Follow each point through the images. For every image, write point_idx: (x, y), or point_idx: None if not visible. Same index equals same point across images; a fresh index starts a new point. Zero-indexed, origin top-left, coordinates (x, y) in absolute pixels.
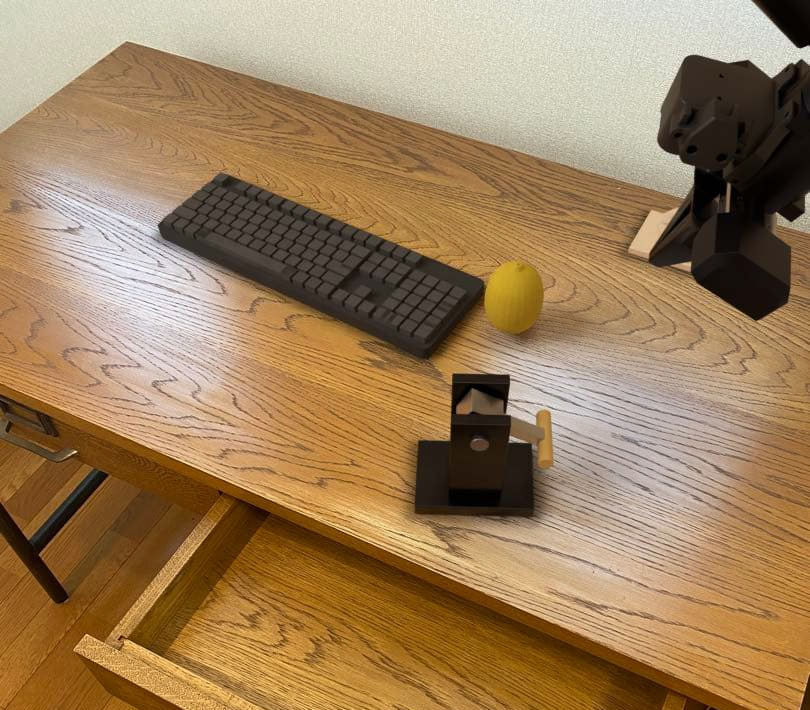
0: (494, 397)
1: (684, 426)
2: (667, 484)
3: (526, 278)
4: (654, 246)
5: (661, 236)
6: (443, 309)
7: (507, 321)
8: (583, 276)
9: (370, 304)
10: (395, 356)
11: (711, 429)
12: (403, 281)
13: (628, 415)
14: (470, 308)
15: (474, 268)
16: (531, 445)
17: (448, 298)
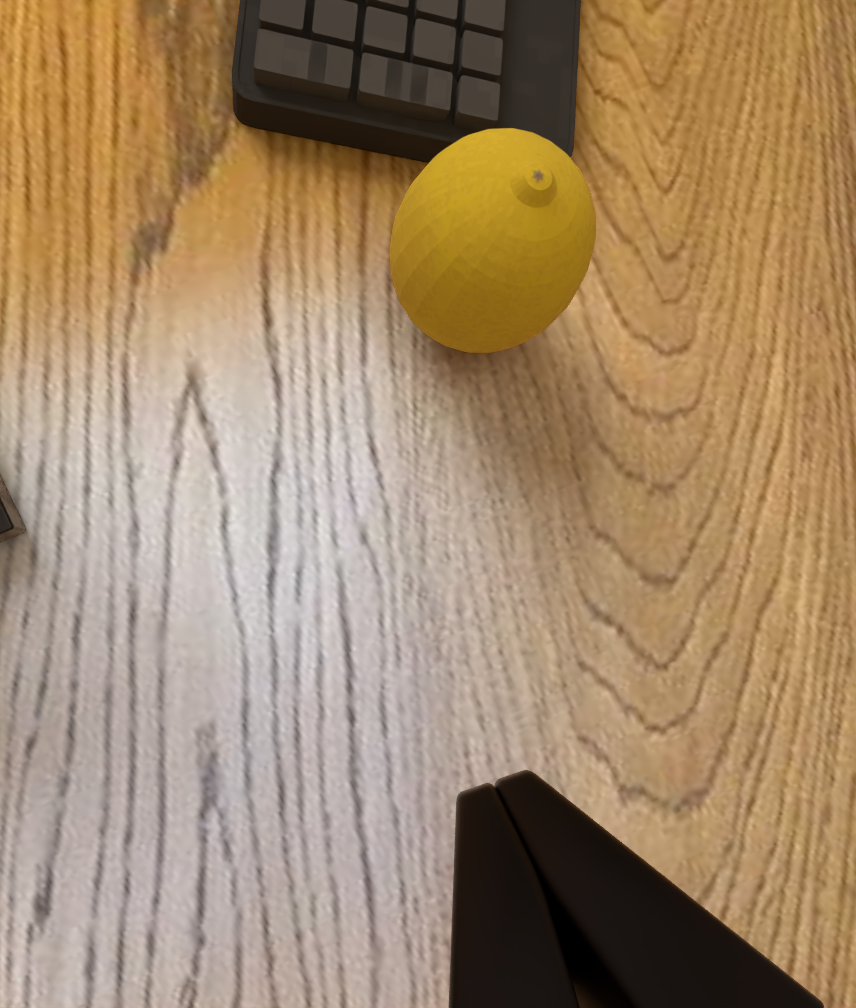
0: None
1: (337, 905)
2: (91, 959)
3: (507, 234)
4: (551, 811)
5: (609, 868)
6: (394, 80)
7: (394, 267)
8: (734, 417)
9: None
10: (205, 34)
11: (362, 982)
12: None
13: (301, 739)
14: None
15: (623, 129)
16: (2, 531)
17: (443, 80)
